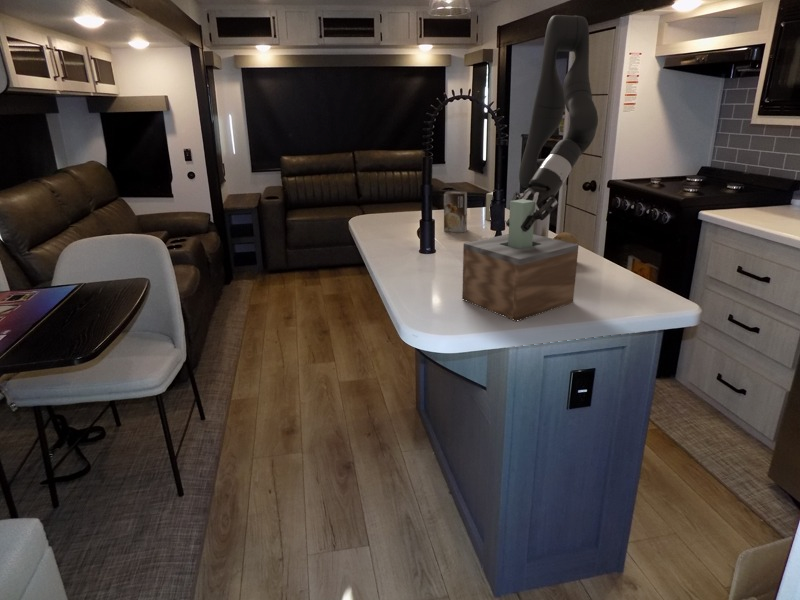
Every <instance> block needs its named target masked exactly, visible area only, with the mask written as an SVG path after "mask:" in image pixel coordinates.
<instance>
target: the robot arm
mask: <svg viewBox="0 0 800 600" xmlns="http://www.w3.org/2000/svg"><path fill="white" fill-rule="evenodd" d="M545 29H546V30H545V34H544V35H545V36H544V41H543V42H544V43H543V50H542V52H543V53H542V58H541V59H542V60H541V67H540V73H539V79H538V84H537V88H536V93H535V98H534V102H533V103H534V104H533V109H532V114H531V119H530V126H529V131H528V137H527V141H526V144H525V148H524V152H523V155H522V159H521V163H520V166H519V172H518V173H519V174H518V180H519V184H520V186H521V187H522V188H524V189H526V190H524V191H523V192H522V193H520V192H519V191H515V192H514V193H513V196H512V198H511V201H514V200H520V199H524V200H530V201H535V203H534V204H533V206H532V210H531V211H530V216H527V218H526V219H525V221H524V222H523V224H522V225H521V229H522V230H523V231H524V232H527V231H528V230H529V229H530V228H531V226H532V225H533V223H534V225H533V234H534V235H539V236H543V237H547V238H549V230H550V229H549V228H550V217H551V213H552V212H553V211H554V210H555V209H556V208H557V207H558V206H559V202H558V201H557V199H556V198H555V196H556V195H557V194H558V192H559V190H560V189H561V188H562V186H563V184H564V183H565V181H566V180H567V178H568V176H569V174H570V173H571V170H572V169H573V167H574V166H575V164H576V163H577V161H578V159H579V157H581V156H583V154H584V153H585V152H586V150H588V148H589V147H590V145H591V144H592V143H593V141H594V139H595V136H596V132H597V128H598V125H599V124H598V123H599V116H598V111H597V108H596V105H595V103H594V100H593V95H592V89H591V83H590V76H589V73H590V72H589V71H590V70H589V67H590V66H589V65H590V64H589V63H590V30H589V29H590V28H589V23H588V20H587V18H586V17H585V16H582V15H569V14H568V15H565V14H555V15H552V16H551V17H550V19H549V20H548V23H547V26H546V28H545ZM558 52H569V53H571V52H573V53H574V60H573V63H572V65H571V67H570V68H569V70H568V71H567V73H566V75H565V78H564V80H563V85H562V82H561V79H560V77H559V74H558V69H557V57H558V56H557V55H558ZM565 108H566V110H567V112H568V113H569V126H568V132H567V134H566V135H565V136H564V139H561V140H559V141H557V143H556V144H555V146H553V148H552V150H551V151H550V153H549V154H548V156H547V157H546V158H539V157H540V153H541V151H542V149H543V147H544V146H545V144H546V143H547V141H548V140H549V139H550V138H551V137H552V135H553V134H554V133H555V132H556V131H557V129H558V128H559V126H560V124H561V123H562V120H563V116H564V112H565ZM508 209H509V211H510V205H509V206H508ZM506 226H507V227H508V228H509V218H508V219H507V221H506Z"/></svg>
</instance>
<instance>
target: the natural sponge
mask: <svg viewBox="0 0 800 600" xmlns="http://www.w3.org/2000/svg"><path fill="white" fill-rule="evenodd" d="M552 239H556V240H560V241H565V242H569V243H574V244H578V245H579V241H578V238H577V237H576V236H575V235H574V234H572V233H570V232H560V233H558V234H557V235H555V236H554V237H553V238H552Z"/></svg>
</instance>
